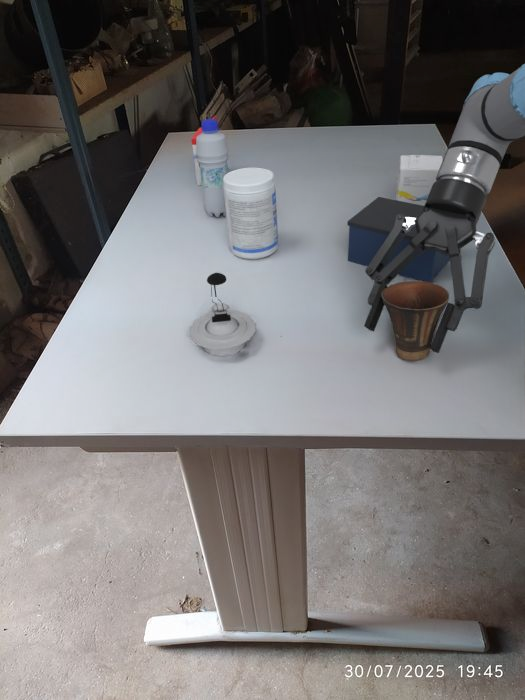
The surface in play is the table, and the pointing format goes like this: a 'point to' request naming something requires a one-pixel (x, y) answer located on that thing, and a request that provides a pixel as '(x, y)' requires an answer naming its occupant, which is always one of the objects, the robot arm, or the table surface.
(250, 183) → the supplement tub
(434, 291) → the cup
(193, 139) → the spray bottle
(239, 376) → the table surface
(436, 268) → the storage box
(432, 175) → the ink box
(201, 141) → the bottle
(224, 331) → the round stand with stem
